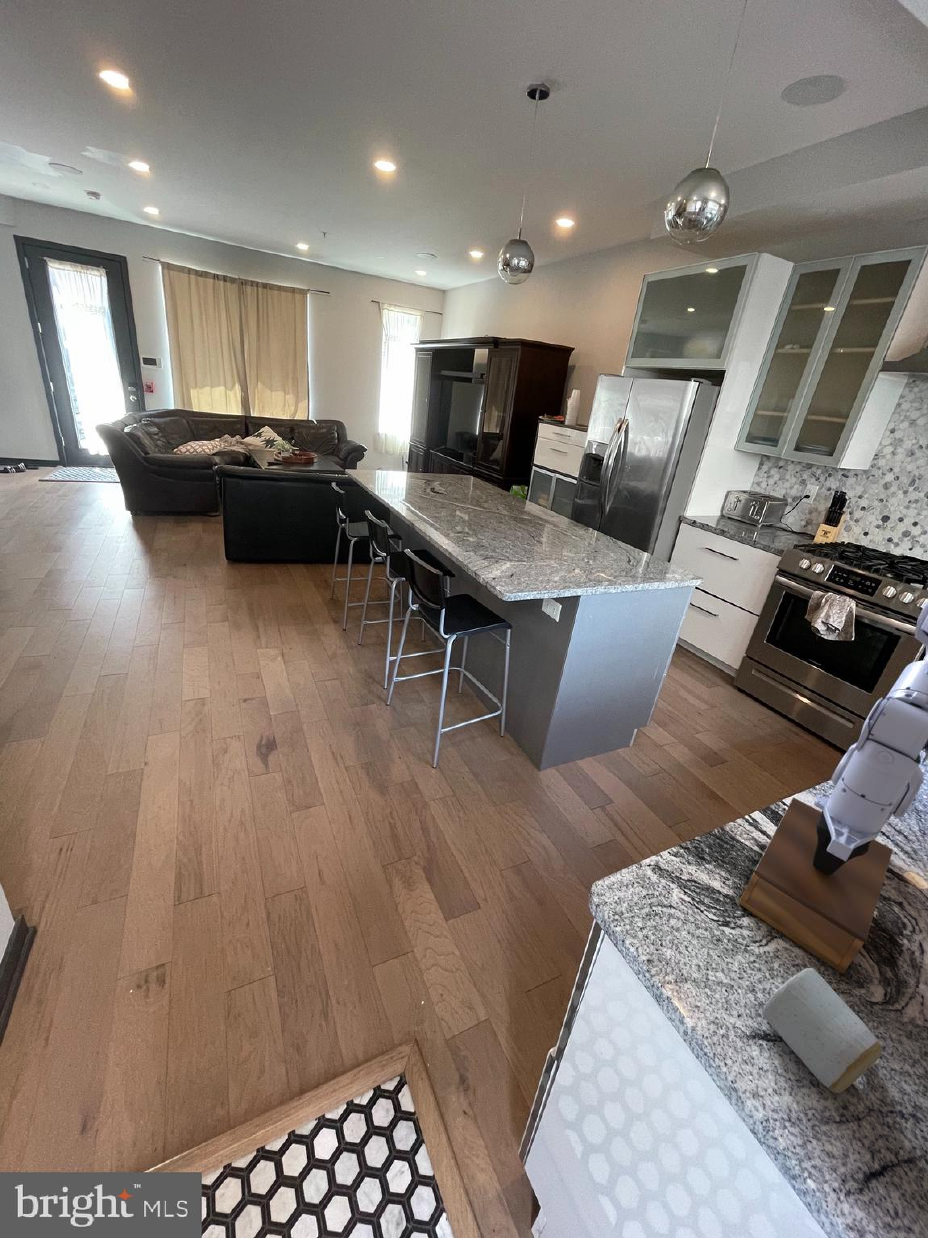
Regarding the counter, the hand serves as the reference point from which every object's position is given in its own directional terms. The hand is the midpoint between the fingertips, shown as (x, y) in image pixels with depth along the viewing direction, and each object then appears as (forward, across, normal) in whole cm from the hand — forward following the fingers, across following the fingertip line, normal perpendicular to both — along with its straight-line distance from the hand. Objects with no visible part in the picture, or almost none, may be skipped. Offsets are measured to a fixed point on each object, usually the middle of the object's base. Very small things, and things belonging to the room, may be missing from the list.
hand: (821, 868), depth 68 cm
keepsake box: (+8, -2, 0) cm, 8 cm away
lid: (0, -2, 0) cm, 2 cm away
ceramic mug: (+8, +18, +5) cm, 21 cm away
